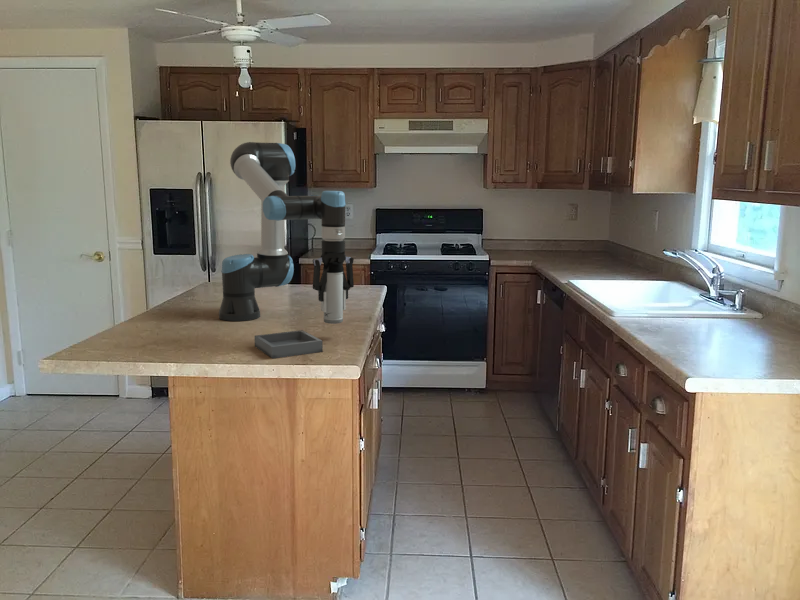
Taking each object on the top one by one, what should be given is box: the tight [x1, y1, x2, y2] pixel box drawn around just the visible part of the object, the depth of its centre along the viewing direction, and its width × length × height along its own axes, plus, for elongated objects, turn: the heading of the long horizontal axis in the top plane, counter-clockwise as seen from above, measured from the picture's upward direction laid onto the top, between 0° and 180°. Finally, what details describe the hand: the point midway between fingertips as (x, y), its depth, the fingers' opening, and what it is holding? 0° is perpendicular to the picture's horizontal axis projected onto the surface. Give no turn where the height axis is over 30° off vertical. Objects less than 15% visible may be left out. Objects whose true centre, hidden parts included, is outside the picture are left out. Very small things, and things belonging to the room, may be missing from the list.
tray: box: [254, 329, 324, 360], centre depth 202 cm, size 16×16×4 cm
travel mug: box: [323, 262, 344, 325], centre depth 213 cm, size 6×7×20 cm
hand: (333, 309), depth 214 cm, fingers closed on travel mug, 6 cm apart
